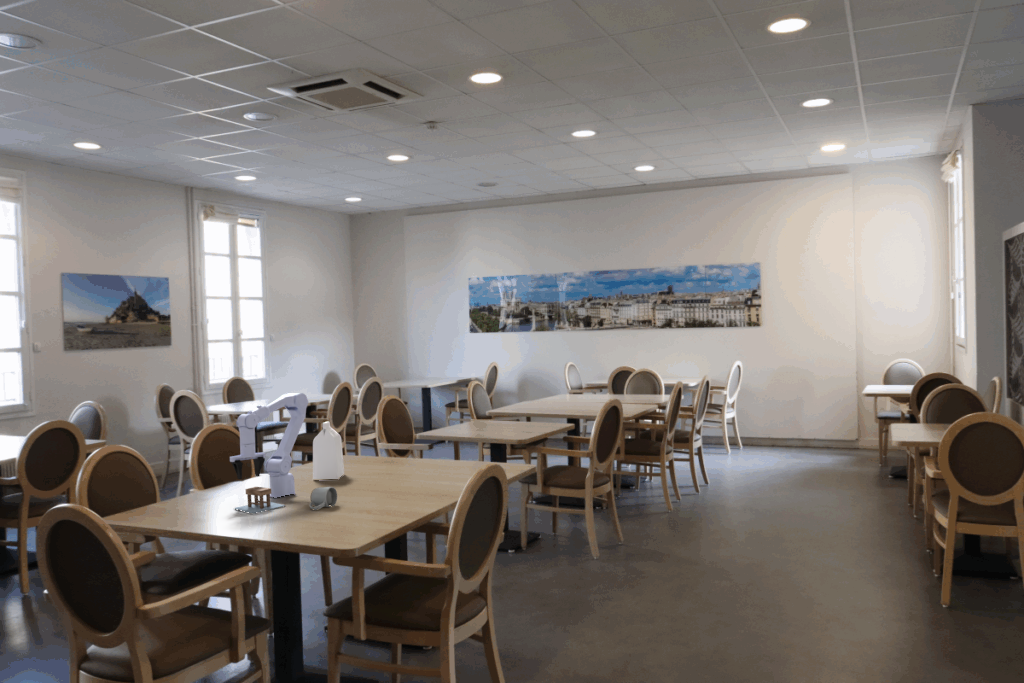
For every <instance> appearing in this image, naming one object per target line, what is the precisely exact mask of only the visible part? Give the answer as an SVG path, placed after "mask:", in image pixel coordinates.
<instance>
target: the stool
mask: <svg viewBox="0 0 1024 683" xmlns="http://www.w3.org/2000/svg"><path fill="white" fill-rule="evenodd" d="M270 494H271V488H270V487H263V486H253V487H249V488H245V495H246V496H247V505H248V507H252V504H254V505H260V509H263V508H264V503H267V507H270V506H271V505H270V502H271V497H270ZM252 496H254V497H253V498H254V501H253V502H252ZM264 496H265V497H266V500H264Z"/></svg>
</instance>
